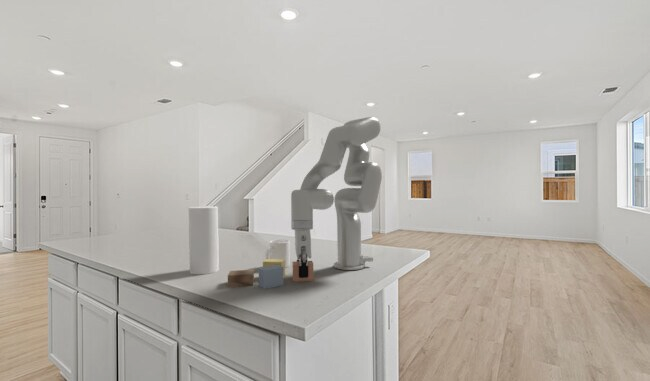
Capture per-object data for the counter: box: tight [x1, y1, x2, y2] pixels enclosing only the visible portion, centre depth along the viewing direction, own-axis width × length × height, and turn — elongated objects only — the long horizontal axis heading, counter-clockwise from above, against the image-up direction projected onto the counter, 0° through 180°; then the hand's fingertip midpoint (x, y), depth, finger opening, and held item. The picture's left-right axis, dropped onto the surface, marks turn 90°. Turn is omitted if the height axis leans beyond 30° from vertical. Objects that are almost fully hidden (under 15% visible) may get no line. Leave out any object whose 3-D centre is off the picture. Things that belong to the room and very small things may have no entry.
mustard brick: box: [262, 258, 286, 278], centre depth 118 cm, size 7×4×6 cm, turn 79°
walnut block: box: [227, 269, 255, 288], centre depth 110 cm, size 8×6×4 cm
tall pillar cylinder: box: [188, 205, 220, 275], centre depth 127 cm, size 11×11×25 cm
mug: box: [264, 239, 291, 269], centre depth 132 cm, size 12×8×10 cm
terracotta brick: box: [292, 260, 314, 282], centre depth 114 cm, size 7×4×6 cm, turn 99°
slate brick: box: [258, 265, 284, 290], centre depth 108 cm, size 7×4×6 cm, turn 124°
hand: (302, 273), depth 114 cm, fingers open, 9 cm apart
